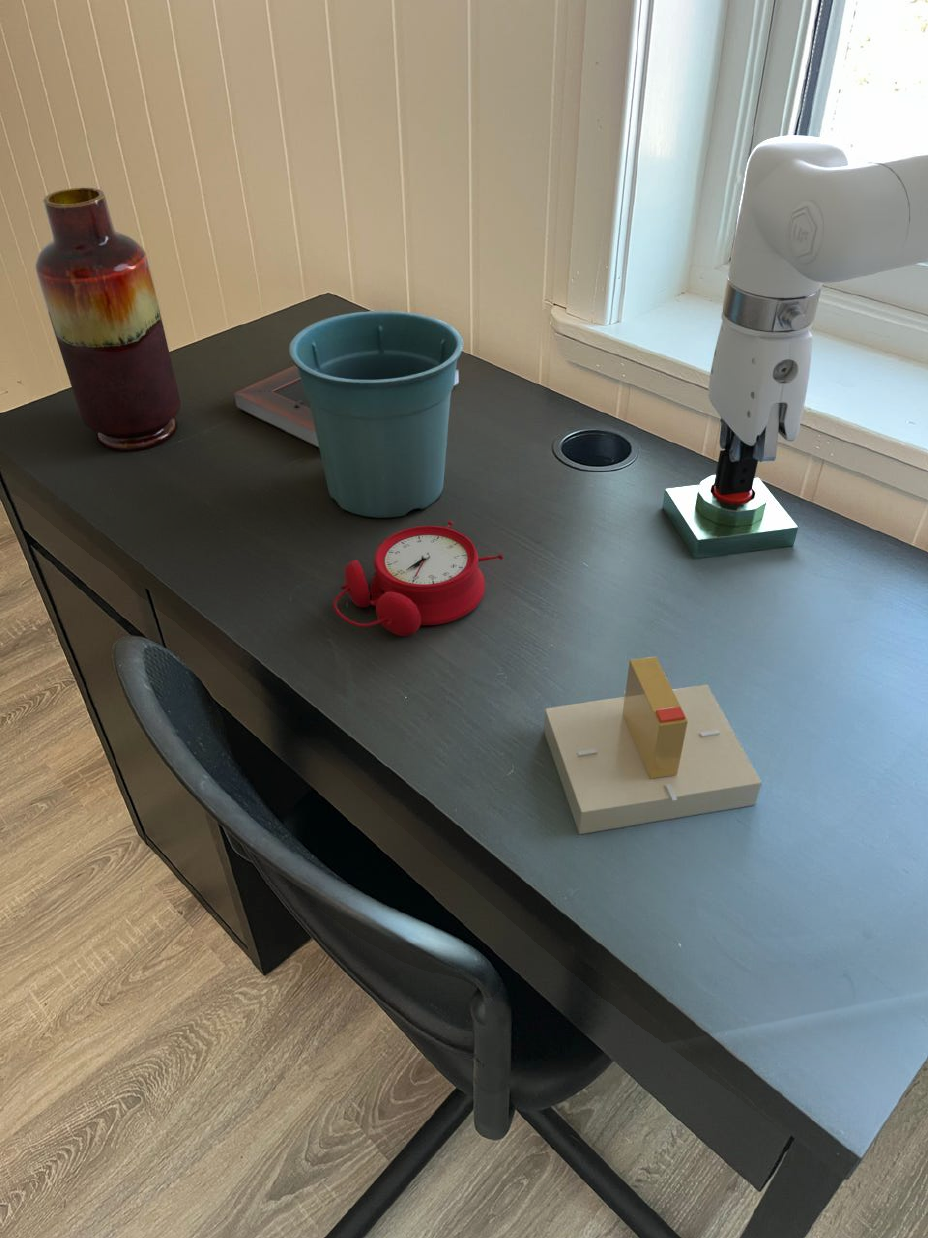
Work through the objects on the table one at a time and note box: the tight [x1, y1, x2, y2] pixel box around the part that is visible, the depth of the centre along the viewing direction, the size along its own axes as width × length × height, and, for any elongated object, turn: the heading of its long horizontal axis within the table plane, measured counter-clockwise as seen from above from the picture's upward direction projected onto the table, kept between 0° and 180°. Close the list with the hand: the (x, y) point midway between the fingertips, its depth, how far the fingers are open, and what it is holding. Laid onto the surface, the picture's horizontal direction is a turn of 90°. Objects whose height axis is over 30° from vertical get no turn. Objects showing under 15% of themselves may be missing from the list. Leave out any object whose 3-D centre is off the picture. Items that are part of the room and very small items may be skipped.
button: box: [713, 487, 752, 504], centre depth 91 cm, size 4×4×2 cm
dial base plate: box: [543, 684, 762, 835], centre depth 69 cm, size 13×11×3 cm
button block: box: [662, 474, 799, 560], centre depth 92 cm, size 10×9×4 cm
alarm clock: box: [333, 520, 504, 637], centre depth 84 cm, size 10×6×15 cm
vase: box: [34, 187, 181, 452], centre depth 101 cm, size 11×11×26 cm
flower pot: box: [288, 310, 464, 519], centre depth 95 cm, size 16×16×16 cm
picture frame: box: [233, 364, 460, 448], centre depth 114 cm, size 16×2×22 cm
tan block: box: [623, 656, 688, 779], centre depth 67 cm, size 6×2×6 cm, turn 10°
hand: (732, 488), depth 91 cm, fingers closed
